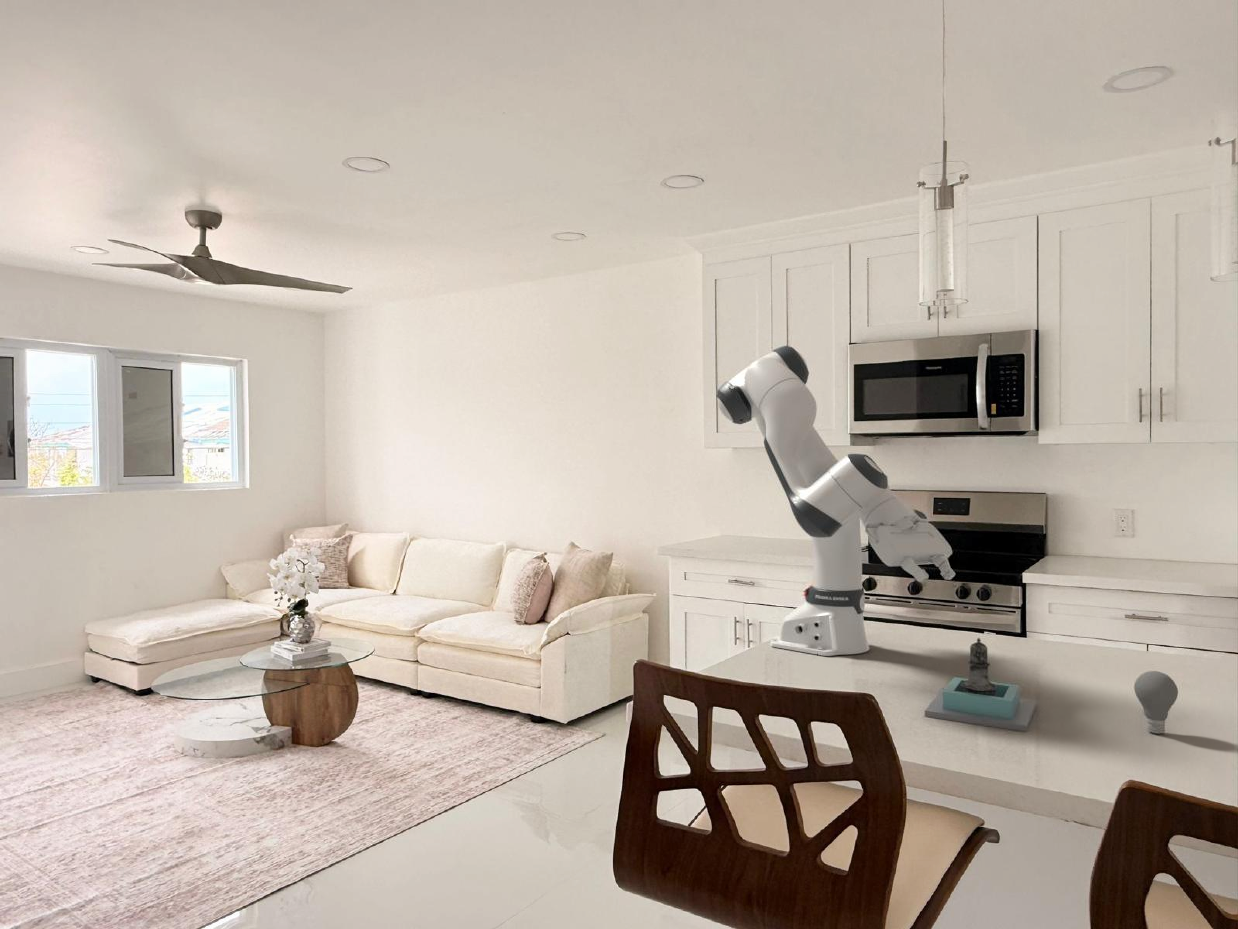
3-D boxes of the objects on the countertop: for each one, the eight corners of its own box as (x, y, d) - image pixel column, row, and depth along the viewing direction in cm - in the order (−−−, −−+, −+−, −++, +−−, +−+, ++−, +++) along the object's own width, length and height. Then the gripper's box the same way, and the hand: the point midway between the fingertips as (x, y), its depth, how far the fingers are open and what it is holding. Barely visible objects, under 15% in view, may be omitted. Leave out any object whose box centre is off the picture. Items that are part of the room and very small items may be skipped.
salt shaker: (955, 706, 149) (955, 638, 149) (968, 698, 154) (967, 632, 153) (990, 712, 146) (990, 643, 145) (1002, 704, 150) (1001, 637, 150)
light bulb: (1168, 741, 134) (1168, 678, 134) (1127, 731, 139) (1127, 670, 138) (1184, 734, 137) (1184, 672, 137) (1143, 724, 142) (1144, 665, 142)
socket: (924, 716, 147) (924, 693, 147) (942, 693, 161) (942, 672, 161) (1026, 731, 139) (1026, 707, 139) (1036, 706, 152) (1036, 684, 152)
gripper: (871, 512, 158) (919, 569, 150) (930, 513, 171) (976, 565, 163) (850, 535, 161) (896, 592, 153) (909, 534, 174) (954, 586, 166)
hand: (938, 578), depth 158 cm, fingers open, 8 cm apart
